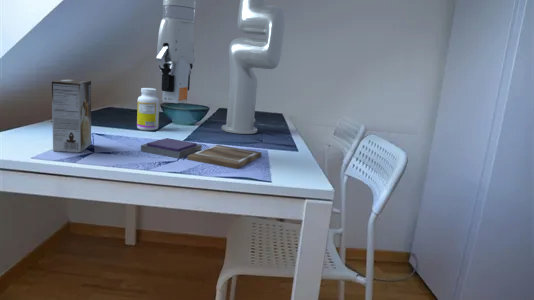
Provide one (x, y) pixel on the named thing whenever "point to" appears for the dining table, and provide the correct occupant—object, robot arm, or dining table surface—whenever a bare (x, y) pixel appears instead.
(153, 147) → the ink pad
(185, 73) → the skincare box
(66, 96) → the coffee box
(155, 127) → the supplement bottle
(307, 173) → the dining table surface
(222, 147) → the wooden tray
